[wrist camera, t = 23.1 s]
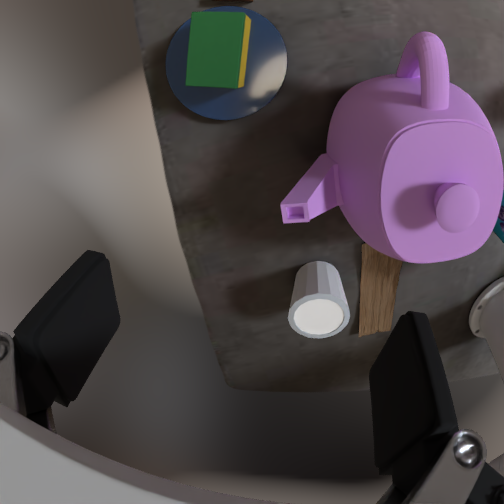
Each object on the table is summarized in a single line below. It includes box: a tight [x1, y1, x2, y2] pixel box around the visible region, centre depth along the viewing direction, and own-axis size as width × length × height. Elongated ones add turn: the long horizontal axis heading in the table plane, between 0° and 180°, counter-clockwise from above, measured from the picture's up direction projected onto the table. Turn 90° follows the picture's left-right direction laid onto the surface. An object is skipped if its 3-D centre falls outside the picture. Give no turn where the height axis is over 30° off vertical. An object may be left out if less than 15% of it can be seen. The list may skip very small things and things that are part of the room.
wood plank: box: [359, 243, 403, 338], centre depth 38 cm, size 15×2×5 cm
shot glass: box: [288, 261, 350, 338], centre depth 36 cm, size 7×7×7 cm
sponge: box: [185, 12, 251, 89], centre depth 24 cm, size 4×7×4 cm, turn 174°
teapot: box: [280, 31, 503, 263], centre depth 23 cm, size 20×20×15 cm
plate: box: [166, 6, 288, 120], centre depth 27 cm, size 12×12×1 cm
